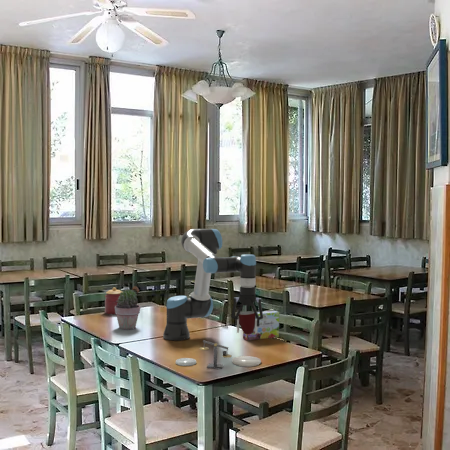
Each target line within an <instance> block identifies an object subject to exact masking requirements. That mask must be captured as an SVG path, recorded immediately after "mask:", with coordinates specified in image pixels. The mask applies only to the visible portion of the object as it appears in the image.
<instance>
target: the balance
mask: <svg viewBox="0 0 450 450" xmlns="http://www.w3.org/2000/svg"><path fill="white" fill-rule="evenodd" d="M202 343H203V346H202V347H199V350H200V351H209V349H210V347H207V346H205V345H206V344H208V345H211V346H213V363H212V362H211V363H208V365H207V369H217V370H218V369H221V370H222V369H223V367H224V364H223V363H218V348H221V349H224V350H222V355H221V356H222V358H224V359H225V358H226V359H227V358H228V359H229V358H232V354H228V353H227V351H228V350H229V347H228V346H225V345H221V344H218V343H217V342H215V343H214V342H212V341H207V340H204V339H203V340H202Z"/></svg>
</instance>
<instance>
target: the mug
mask: <svg viewBox="0 0 450 450" xmlns="http://www.w3.org/2000/svg"><path fill="white" fill-rule="evenodd" d="M238 318H239V327H240V328H241V331H242V333H243V332H244V334H252V333H253V331H254V328H255V319H256V317H255V313H254V312H253V310H252V311H251V310H250V311H249V310H248V311H241V312H240V314H239V316H238Z"/></svg>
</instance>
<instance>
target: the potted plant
mask: <svg viewBox="0 0 450 450" xmlns="http://www.w3.org/2000/svg"><path fill="white" fill-rule="evenodd" d="M138 293H140V289H139V287H137V286H136V285H134V286H133V287H132V288H131V289H128V288H126V289H124V290H122V292H121V293H120V296H119V298H118V301H116V302H118V303H117V305H116V306H115V314H114V315H116V319H117V324H118V328H119V329H120V330H134V329H136V326H137V322H138V318H139V315H140V312H141V307H143V306H142V305H141V306H140V304H138V301H139V300H138V298H137V296H139V297H140V295H138ZM114 303H115V302H114ZM133 328H134V329H133Z"/></svg>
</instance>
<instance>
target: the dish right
mask: <svg viewBox="0 0 450 450" xmlns="http://www.w3.org/2000/svg"><path fill="white" fill-rule="evenodd" d="M231 362H232V364H233V365H235V366H238V367H244V368H245V367H248V368H249V367H257V366H260V365H261V364H262V361H261V358H259V357H256V356H249V355H242V356H241V355H240V356H235V357H233V358H232V361H231ZM259 364H260V365H259Z"/></svg>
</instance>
